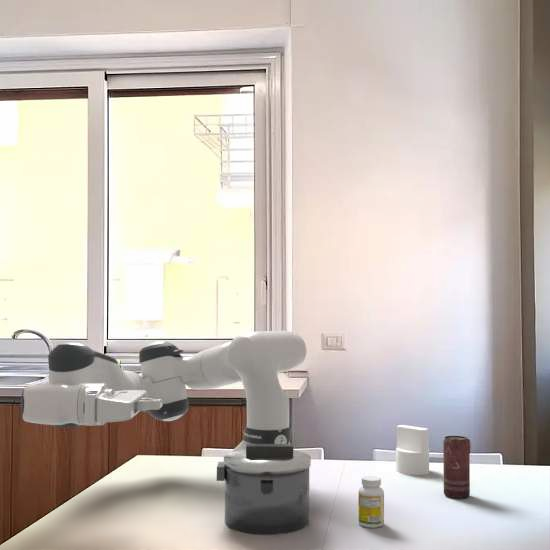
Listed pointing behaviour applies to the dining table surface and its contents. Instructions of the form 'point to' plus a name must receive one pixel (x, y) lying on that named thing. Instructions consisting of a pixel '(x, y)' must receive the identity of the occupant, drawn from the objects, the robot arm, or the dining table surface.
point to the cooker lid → (267, 459)
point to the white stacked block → (412, 450)
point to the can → (456, 467)
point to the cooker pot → (265, 501)
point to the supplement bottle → (371, 502)
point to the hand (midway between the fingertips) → (161, 404)
